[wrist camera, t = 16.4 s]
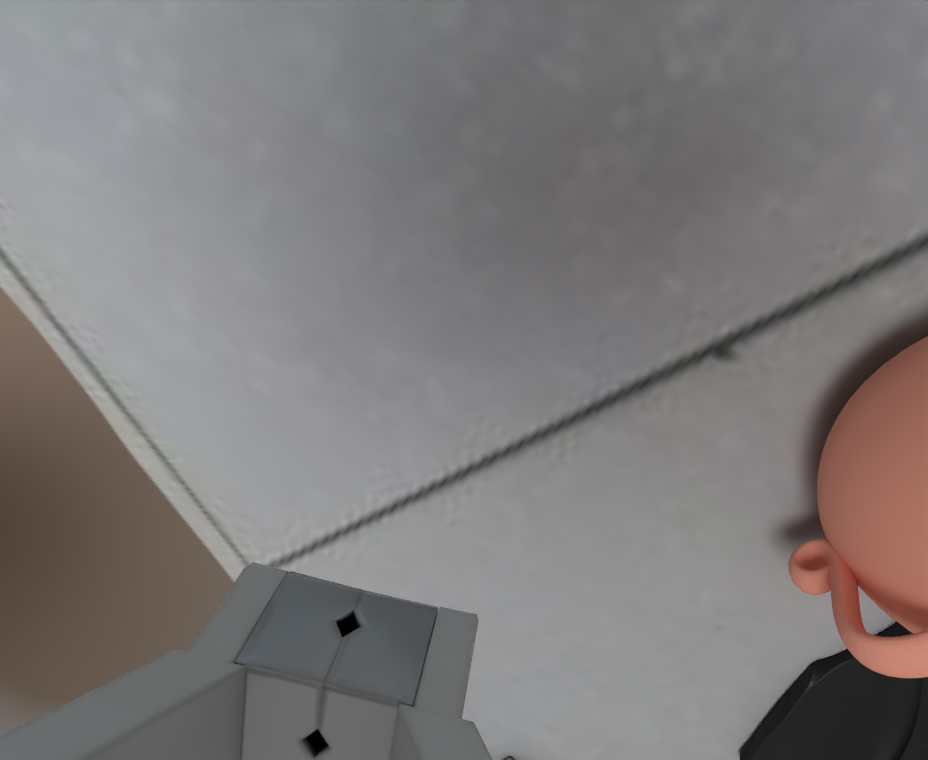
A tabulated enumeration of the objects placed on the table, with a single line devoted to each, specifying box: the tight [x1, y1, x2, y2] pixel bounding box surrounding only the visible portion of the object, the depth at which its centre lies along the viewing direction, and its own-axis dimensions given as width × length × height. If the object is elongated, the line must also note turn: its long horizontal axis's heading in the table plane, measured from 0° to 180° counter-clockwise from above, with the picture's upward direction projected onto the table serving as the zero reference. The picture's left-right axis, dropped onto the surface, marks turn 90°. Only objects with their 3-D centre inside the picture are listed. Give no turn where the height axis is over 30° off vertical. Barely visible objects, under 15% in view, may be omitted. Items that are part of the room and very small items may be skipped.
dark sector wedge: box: [740, 623, 928, 760], centre depth 39 cm, size 8×14×2 cm, turn 155°
